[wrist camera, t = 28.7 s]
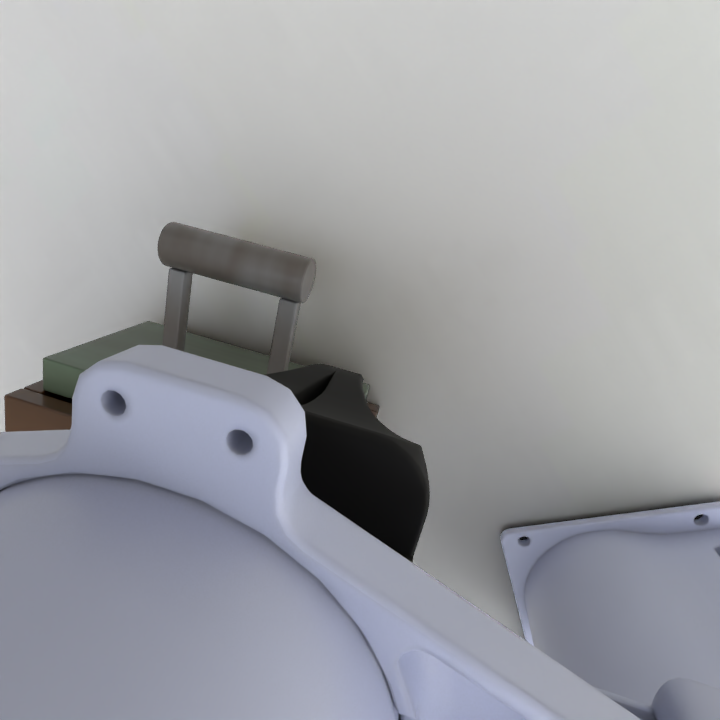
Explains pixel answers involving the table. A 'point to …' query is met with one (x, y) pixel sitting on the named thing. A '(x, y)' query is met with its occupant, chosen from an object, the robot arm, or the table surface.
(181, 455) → the robot arm
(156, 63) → the table surface
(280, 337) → the drawer
